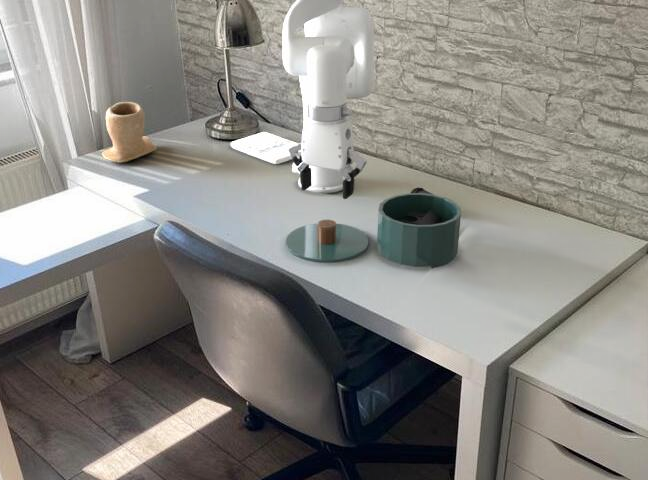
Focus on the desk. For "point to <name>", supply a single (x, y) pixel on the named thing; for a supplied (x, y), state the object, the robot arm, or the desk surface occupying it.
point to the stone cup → (126, 132)
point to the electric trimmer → (420, 191)
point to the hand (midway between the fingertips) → (326, 192)
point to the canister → (418, 230)
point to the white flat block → (266, 147)
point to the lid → (326, 242)
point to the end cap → (424, 218)
